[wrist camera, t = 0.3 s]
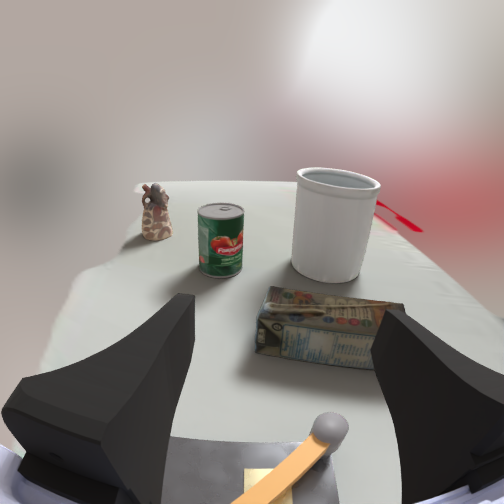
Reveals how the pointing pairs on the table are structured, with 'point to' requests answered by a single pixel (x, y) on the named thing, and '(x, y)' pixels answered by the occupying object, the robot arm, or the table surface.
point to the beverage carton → (319, 327)
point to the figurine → (155, 214)
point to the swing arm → (299, 460)
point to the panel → (238, 472)
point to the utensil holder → (332, 223)
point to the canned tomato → (220, 239)
